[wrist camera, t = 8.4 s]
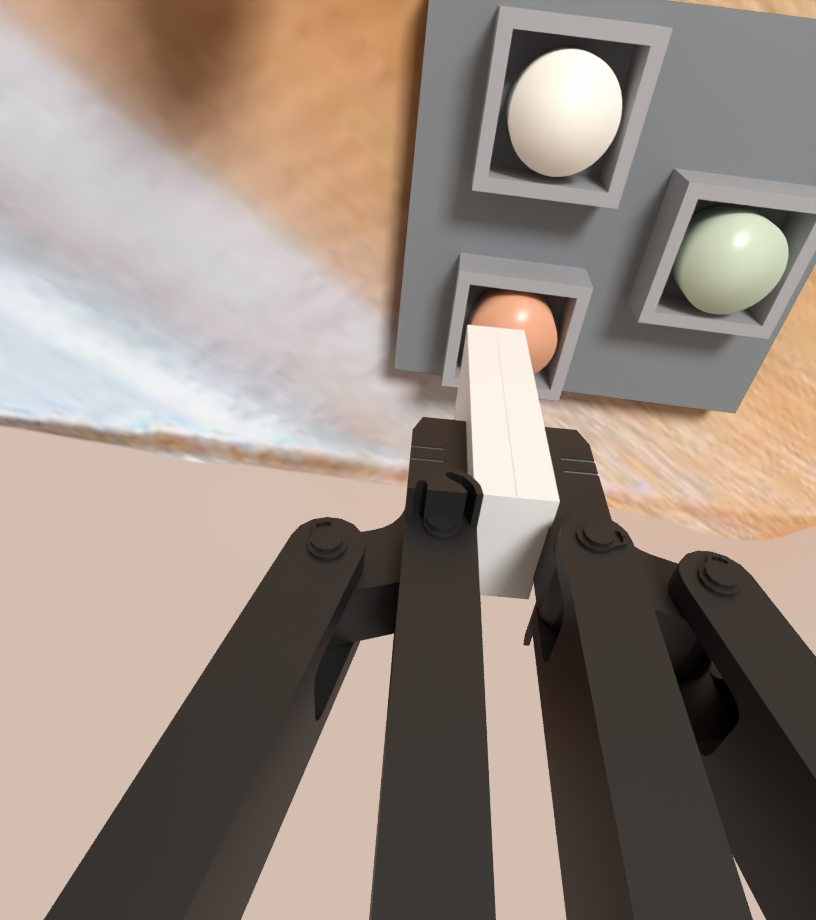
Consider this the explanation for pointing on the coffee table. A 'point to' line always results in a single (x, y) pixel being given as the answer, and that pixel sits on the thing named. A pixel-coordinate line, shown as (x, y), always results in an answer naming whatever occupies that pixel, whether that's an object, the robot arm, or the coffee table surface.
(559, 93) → the cream button
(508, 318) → the terracotta button
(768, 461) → the coffee table surface
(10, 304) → the coffee table surface
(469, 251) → the panel
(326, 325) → the coffee table surface
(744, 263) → the sage button
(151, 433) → the coffee table surface
